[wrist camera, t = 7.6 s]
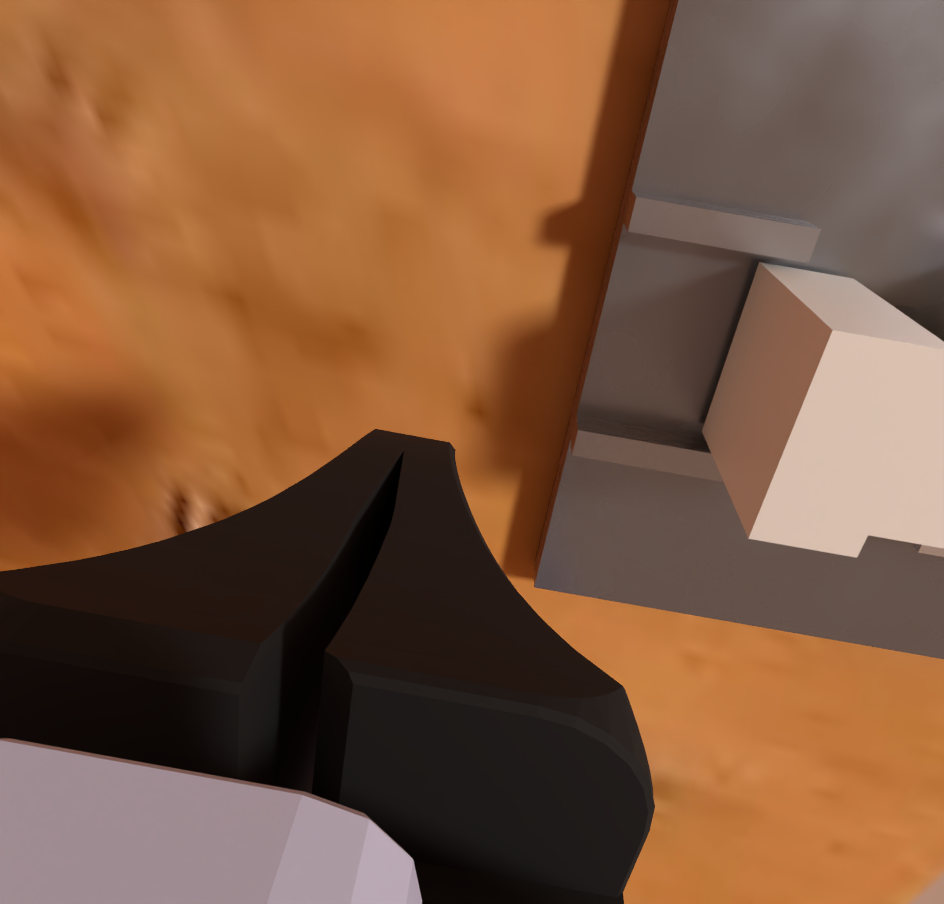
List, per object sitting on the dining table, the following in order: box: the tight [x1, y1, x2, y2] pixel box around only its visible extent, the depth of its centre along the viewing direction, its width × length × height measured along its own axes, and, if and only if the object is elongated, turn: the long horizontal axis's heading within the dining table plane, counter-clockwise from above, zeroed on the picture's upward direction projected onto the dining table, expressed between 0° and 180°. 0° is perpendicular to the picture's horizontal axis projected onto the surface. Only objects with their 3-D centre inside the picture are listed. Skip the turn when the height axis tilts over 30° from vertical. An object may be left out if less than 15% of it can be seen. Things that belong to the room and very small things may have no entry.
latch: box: [702, 262, 944, 558], centre depth 17 cm, size 5×5×5 cm
